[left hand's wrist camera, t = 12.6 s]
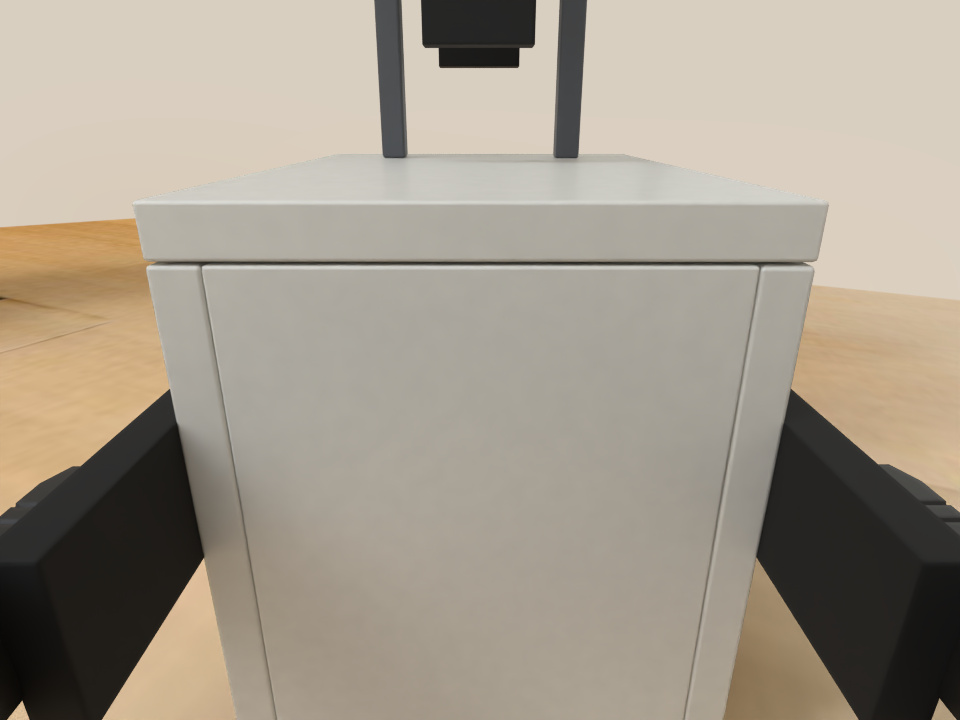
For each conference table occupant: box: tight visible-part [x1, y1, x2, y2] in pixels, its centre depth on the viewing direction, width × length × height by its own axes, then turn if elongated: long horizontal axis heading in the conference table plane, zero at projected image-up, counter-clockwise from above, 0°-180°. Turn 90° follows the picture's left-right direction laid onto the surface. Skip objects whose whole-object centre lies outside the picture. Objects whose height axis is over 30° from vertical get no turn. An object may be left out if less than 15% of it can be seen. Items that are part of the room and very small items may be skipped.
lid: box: [133, 0, 829, 262], centre depth 14 cm, size 13×10×9 cm
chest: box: [146, 262, 814, 720], centre depth 17 cm, size 13×10×11 cm
